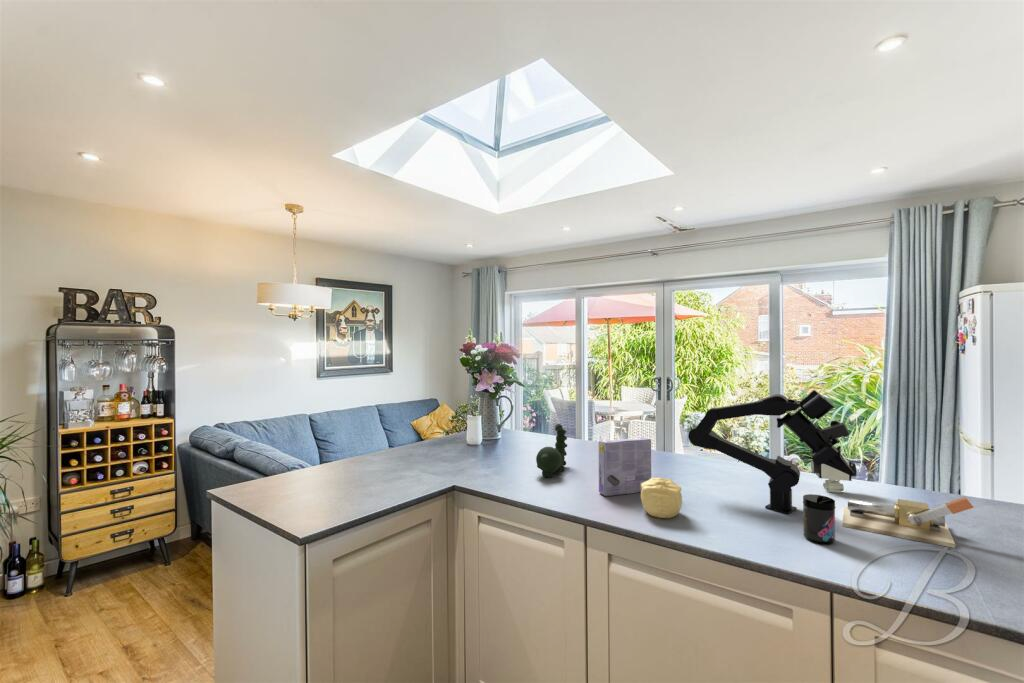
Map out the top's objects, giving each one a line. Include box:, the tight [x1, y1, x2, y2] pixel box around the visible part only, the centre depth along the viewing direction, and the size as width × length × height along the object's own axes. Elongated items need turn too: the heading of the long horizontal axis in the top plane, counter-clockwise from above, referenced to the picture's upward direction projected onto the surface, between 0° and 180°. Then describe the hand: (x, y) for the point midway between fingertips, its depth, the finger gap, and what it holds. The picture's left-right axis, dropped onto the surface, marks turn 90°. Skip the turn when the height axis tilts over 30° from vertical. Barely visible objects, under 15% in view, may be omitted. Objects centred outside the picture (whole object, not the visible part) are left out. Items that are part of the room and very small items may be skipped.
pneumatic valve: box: [810, 457, 857, 494], centre depth 151 cm, size 6×12×12 cm, turn 68°
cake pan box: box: [598, 437, 652, 497], centre depth 153 cm, size 19×5×18 cm, turn 108°
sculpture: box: [640, 476, 683, 519], centre depth 133 cm, size 11×12×11 cm
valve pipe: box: [847, 498, 946, 532], centre depth 124 cm, size 20×5×6 cm, turn 52°
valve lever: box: [907, 496, 975, 526], centre depth 115 cm, size 3×2×14 cm
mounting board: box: [842, 506, 956, 549], centre depth 122 cm, size 22×15×1 cm
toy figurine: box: [535, 423, 568, 479], centre depth 176 cm, size 9×19×25 cm
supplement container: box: [802, 493, 836, 546], centre depth 115 cm, size 7×7×10 cm
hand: (852, 474), depth 126 cm, fingers closed
